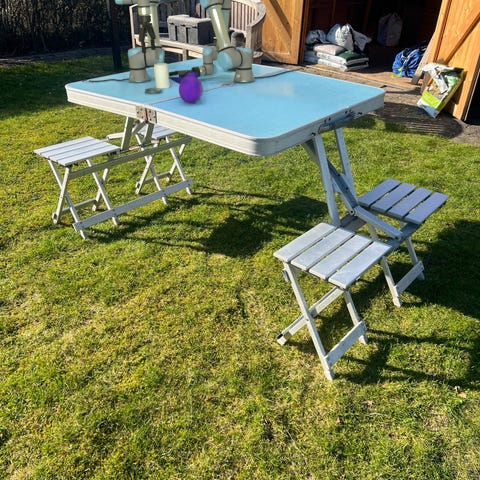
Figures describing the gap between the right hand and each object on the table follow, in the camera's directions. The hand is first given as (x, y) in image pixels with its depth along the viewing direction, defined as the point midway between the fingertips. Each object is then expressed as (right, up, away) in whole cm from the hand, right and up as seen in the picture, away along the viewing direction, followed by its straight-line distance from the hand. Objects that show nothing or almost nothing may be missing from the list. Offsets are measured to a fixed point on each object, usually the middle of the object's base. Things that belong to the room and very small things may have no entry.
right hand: (173, 75), depth 322 cm
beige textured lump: (+42, +23, +50) cm, 70 cm away
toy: (+15, -30, -39) cm, 51 cm away
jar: (-7, -9, -2) cm, 11 cm away
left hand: (-12, +5, -30) cm, 32 cm away
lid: (-11, -16, -17) cm, 26 cm away
